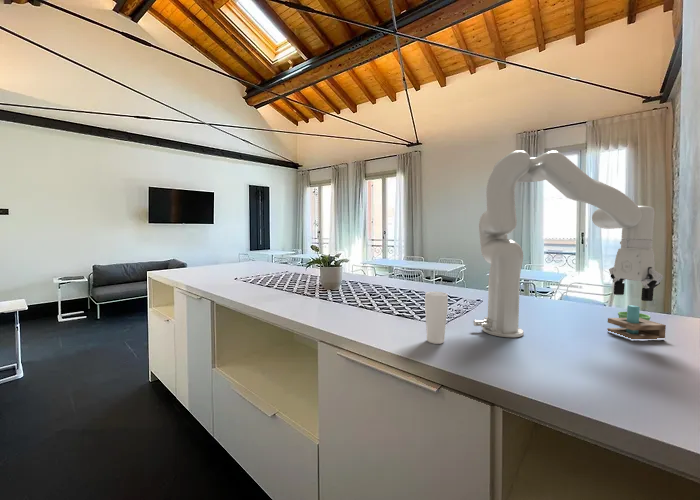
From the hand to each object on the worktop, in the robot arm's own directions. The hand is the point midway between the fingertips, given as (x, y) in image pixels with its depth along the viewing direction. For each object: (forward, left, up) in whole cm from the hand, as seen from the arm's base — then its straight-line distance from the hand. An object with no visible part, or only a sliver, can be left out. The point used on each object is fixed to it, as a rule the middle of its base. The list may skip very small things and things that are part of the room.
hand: (632, 297), depth 105 cm
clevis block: (+1, 0, -13) cm, 13 cm away
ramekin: (+13, +11, -13) cm, 22 cm away
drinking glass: (-65, -1, -13) cm, 67 cm away
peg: (+1, 0, -13) cm, 13 cm away
